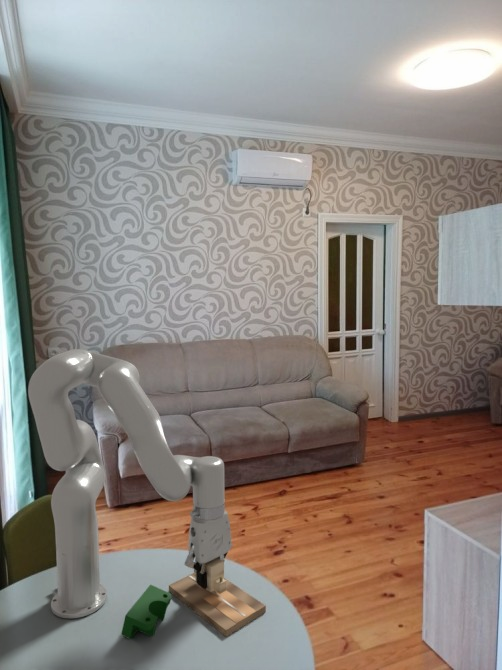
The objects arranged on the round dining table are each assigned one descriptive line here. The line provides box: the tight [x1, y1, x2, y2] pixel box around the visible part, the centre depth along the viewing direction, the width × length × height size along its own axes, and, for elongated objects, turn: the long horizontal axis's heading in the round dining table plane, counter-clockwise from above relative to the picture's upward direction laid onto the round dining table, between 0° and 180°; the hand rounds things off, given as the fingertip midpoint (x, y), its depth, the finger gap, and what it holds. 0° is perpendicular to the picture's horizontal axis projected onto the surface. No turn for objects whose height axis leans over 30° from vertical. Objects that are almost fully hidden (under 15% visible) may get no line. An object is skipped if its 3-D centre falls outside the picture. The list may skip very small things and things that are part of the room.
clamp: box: [121, 584, 172, 640], centre depth 107 cm, size 12×6×9 cm, turn 158°
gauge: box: [193, 557, 226, 594], centre depth 117 cm, size 10×4×6 cm, turn 44°
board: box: [168, 572, 267, 638], centre depth 116 cm, size 22×12×2 cm, turn 43°
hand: (209, 581), depth 117 cm, fingers closed on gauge, 4 cm apart
